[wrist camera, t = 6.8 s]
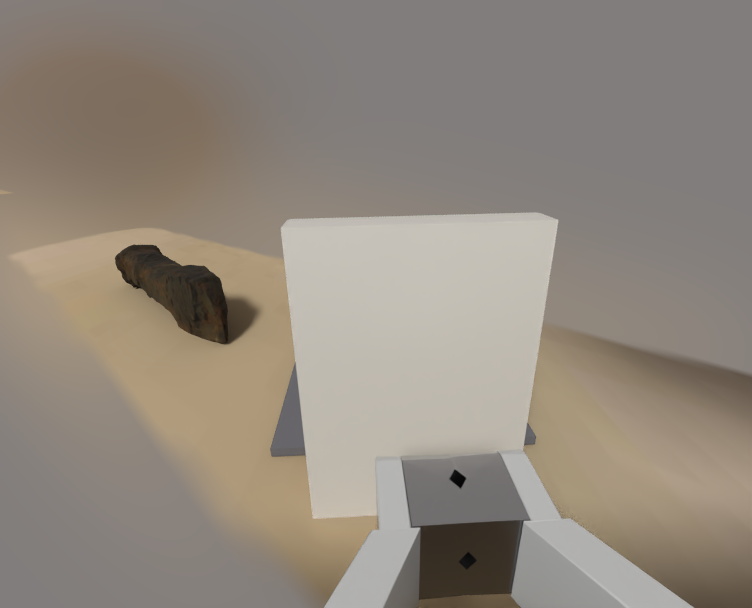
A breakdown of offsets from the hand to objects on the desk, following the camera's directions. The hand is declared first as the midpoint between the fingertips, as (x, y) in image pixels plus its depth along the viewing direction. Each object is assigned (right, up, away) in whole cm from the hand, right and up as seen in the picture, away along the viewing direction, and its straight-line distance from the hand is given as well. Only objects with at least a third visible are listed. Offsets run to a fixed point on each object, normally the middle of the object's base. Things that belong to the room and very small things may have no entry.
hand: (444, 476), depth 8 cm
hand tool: (-17, +3, +24) cm, 30 cm away
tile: (0, -3, +6) cm, 7 cm away
